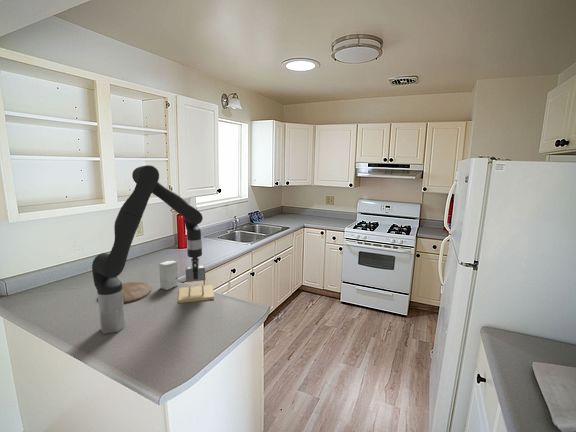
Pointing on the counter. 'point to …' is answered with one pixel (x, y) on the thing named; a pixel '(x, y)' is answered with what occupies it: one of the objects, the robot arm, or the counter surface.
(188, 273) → the grey rectangular block
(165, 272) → the skincare box
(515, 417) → the counter surface
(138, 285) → the trivet
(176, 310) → the counter surface
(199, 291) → the yellow peg board
